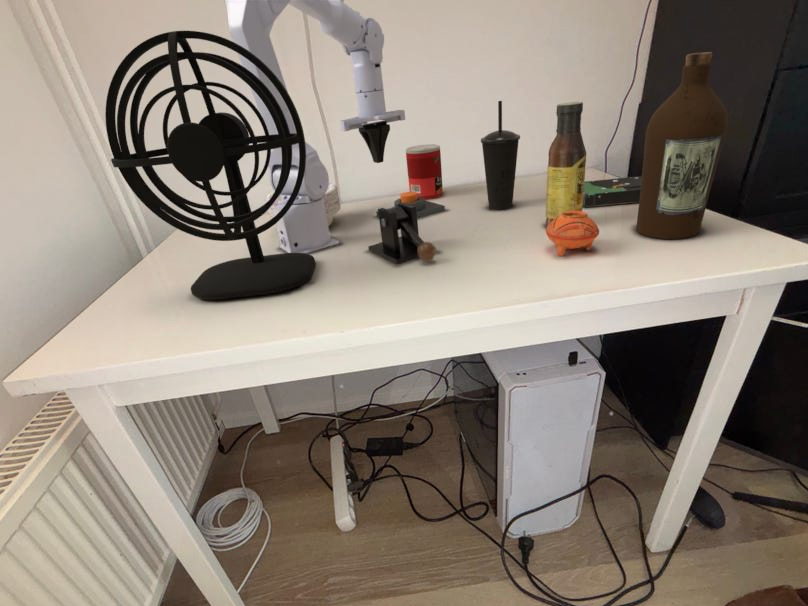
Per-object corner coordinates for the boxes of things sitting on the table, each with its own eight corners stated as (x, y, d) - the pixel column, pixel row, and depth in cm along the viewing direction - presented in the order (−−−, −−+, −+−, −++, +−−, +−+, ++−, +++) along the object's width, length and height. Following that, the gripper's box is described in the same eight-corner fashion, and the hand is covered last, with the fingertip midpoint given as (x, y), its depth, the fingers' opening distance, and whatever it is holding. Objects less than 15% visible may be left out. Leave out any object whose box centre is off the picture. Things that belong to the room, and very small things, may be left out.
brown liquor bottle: (625, 222, 86) (647, 57, 73) (691, 218, 84) (726, 47, 71) (641, 243, 77) (669, 59, 64) (714, 239, 75) (760, 48, 62)
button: (406, 205, 102) (405, 197, 101) (398, 202, 105) (397, 194, 104) (420, 201, 104) (420, 193, 103) (411, 198, 106) (411, 190, 105)
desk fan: (154, 315, 74) (39, 44, 56) (192, 272, 89) (111, 47, 71) (328, 295, 73) (270, 13, 55) (337, 254, 88) (294, 22, 70)
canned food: (443, 198, 114) (440, 148, 108) (410, 201, 115) (405, 152, 109) (442, 190, 120) (439, 142, 115) (410, 193, 121) (405, 146, 115)
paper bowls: (260, 239, 102) (249, 201, 98) (295, 217, 114) (287, 182, 110) (324, 239, 97) (316, 199, 93) (354, 216, 109) (348, 180, 105)
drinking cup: (475, 207, 104) (472, 103, 94) (504, 200, 107) (505, 97, 96) (495, 214, 98) (494, 104, 88) (526, 206, 101) (529, 98, 90)
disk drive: (642, 189, 103) (570, 195, 104) (644, 175, 101) (571, 181, 103) (662, 201, 94) (583, 208, 95) (664, 186, 93) (585, 193, 94)
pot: (531, 248, 80) (541, 205, 77) (571, 249, 82) (582, 208, 79) (560, 261, 73) (571, 215, 70) (602, 262, 75) (615, 218, 72)
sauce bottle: (582, 229, 85) (593, 103, 75) (545, 231, 87) (551, 107, 76) (578, 218, 91) (588, 99, 80) (544, 220, 92) (549, 103, 81)
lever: (437, 261, 80) (440, 247, 77) (422, 266, 79) (425, 252, 76) (400, 218, 85) (402, 204, 83) (385, 222, 84) (387, 208, 82)
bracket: (436, 252, 84) (433, 207, 80) (397, 265, 81) (391, 219, 76) (405, 240, 91) (401, 197, 87) (368, 251, 88) (362, 208, 84)
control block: (397, 225, 100) (396, 210, 98) (376, 217, 107) (374, 203, 105) (445, 211, 105) (444, 197, 103) (422, 204, 111) (420, 191, 110)
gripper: (346, 96, 92) (357, 170, 100) (410, 85, 98) (416, 157, 105) (331, 96, 98) (342, 167, 105) (392, 86, 103) (399, 154, 111)
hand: (378, 162), depth 105 cm, fingers closed
